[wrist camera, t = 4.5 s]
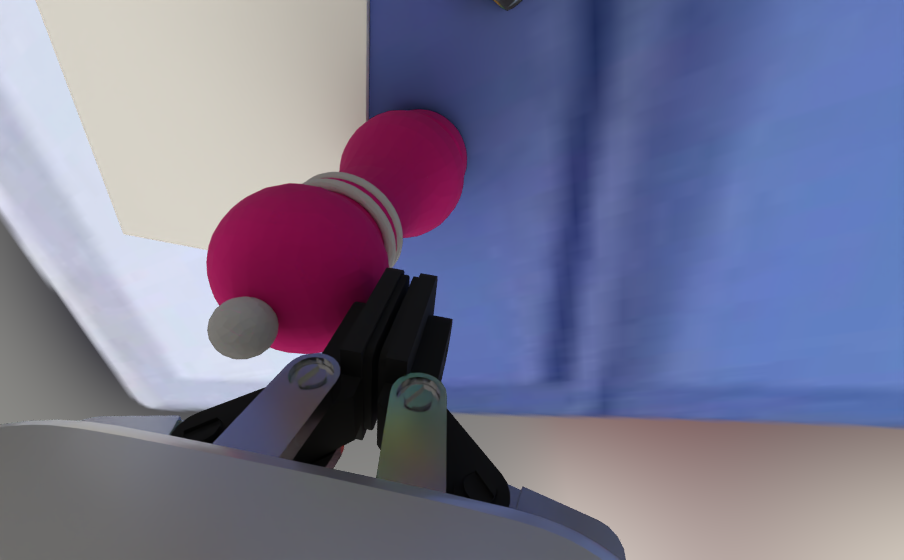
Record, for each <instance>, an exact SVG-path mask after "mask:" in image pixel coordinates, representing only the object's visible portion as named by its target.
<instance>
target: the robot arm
mask: <svg viewBox="0 0 904 560" xmlns="http://www.w3.org/2000/svg"><path fill="white" fill-rule="evenodd" d="M436 288H437V276H433V275H428V274H422V273H421V274H420V276H419V277H413V279H412V281H411V284H410V286H409V276H408V275H404V270H399V269H394V268H388V267H387V268H386V269H385V271H384V273H383V275H382V276H381V278H380V280H379V281H378V283H377V285H376V287H375V288H374V290H373V292H372V294H371V295H370V297H369V299H368V301H367V302H366V303H362V302H357V301H356V302H354V303H353V305H352V306H351V308H350V309H349V311H348V312H347V314H346V316H345V317H344V319H343V320H342V322H341V324H340V325H339V327H338V328H337V330H336V332H335V333H334V335H333V336H332V338H331V340H330V341H329V343H328V344H327V346H326V348H325V349H324V351H323V352H322V354H321V353H311V354H306V355H302V356H300V357H298V358H296V359H294V360H292V361H291V362H290V363H289V364H287V365H286V367H285V368H284V369H283V370H282V371H281V372H280V373H279V374H278V375H277V376H276V377H275V378H274V379H273V380H272V381H271V382H270V383H269V384H268V385H267V387H265V388H262V389H260V390H257V391H254V392H252V393H249V394H246V395H244V396H241V397H238V398H236V399H233V400H230V401H228V402H225V403H222V404H220V405H217V406H215V407H212V408H209V409H207V410H204V411H201V412H199V413H197V414H194V415H192V416H190V417H189V418H187V419H186V420H181V417H180V416H100V417H93V418H88V419H85V420H82V421H73V420H31V421H23V422H15V423H6V424H0V560H626V559H625V553H624V548H623V547H622V544H621V542H620V541H619V539H618V537H617V536H616V534H615V533H614V532H613V531H612V530H611V529H610V528H609V527H608V526H606V525H605V524H603V523H602V522H600V521H599V520H597V519H594V518H592V517H590V516H588V515H586V514H583V513H581V512H579V511H577V510H574V509H572V508H570V507H568V506H565V505H563V504H561V503H559V502H556V501H554V500H552V499H550V498H548V497H545V496H543V495H541V494H539V493H536V492H534V491H532V490H530V489H527V488H525V487H522V489H521V490H519V489H517V488H515V487H513V486H511V485H508V484H507V482H506V480H505V479H504V477H503V476H502V474H501V473H500V472H499V470H498V469H497V468H496V467H495V466H494V464H493V463H492V462H491V461H490V460H489V458H488V457H487V456H486V455H485V454H484V452H483V451H482V450H481V449H480V448H479V447H478V445H477V444H476V443H475V442H474V440H473V439H472V438H471V437H470V436H469V435H468V433H467V432H466V431H465V430H464V428H463V427H462V426H461V425H460V424H459V422H458V421H457V420H456V419H455V418H454V416H453V415H452V414H451V413H450V412H449V410H448V409H447V394H446V389H445V387H444V386H443V384H442V382H441V380H442V375H443V371H444V366H445V362H446V357H447V352H448V347H449V341H450V334H451V328H452V319H450V318H444V317H439V316H433V314H434V305H435V297H436ZM376 421H377V445H378V447H379V448H380V450H381V451H380V457H379V464H378V470H377V476H376V478H373V477H368V476H364V475H359V474H354V473H349V472H345V471H340V470H335V469H334V467H335V465H336V464H337V462H338V460H339V459H340V457H341V455H342V453H343V450H344V445H346V444H347V443H349V442H351V441H353V440H355V439H359V440H363V438H364V435H365V433H366V430H367V429H368V430H373V428H374V426H375V423H376Z"/></svg>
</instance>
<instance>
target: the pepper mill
mask: <svg viewBox="0 0 904 560" xmlns="http://www.w3.org/2000/svg"><path fill="white" fill-rule="evenodd" d="M466 165H467V154H466V148H465V145H464V141H463V139H462V137H461V135H460V133H459V131H458V130H457V129H456V128H455V126H454V125H453V124H452V123H451V122H450V121H449V120H447V119H446V118H445V117H444V116H442V115H440V114H438V113H436V112H433V111H430V110H423V109H415V110H409V111H406V110H395V111H387V112H384V113H381V114H378V115H376V116H375V117H373V118H371V119H369V120H368V121H367V122H365V123H364V124H363V125H362V126H360V127H359V128H358V129H357V130H356V131H355V132H354V134H353V135H352V136H351V138H350V139H349V141H348V143H347V145H346V146H345V148H344V151H343V153H342V156H341V161H340V168H339V172H327V173H322V174H318V175H316V176H313V177H312V178H310V179H308V180H307V181H306V182H304V183H302V184H298V183H287V184H282V185H277V186H272V187H266V188H264V189H262V190H260V191H257V192H255V193H253V194H251V195H249V196H247V197H246V198H244V199H243V200H241V201H240V202H239V203H237V204H236V205H235V206H234V207H232V208H231V209H230V211H229V212H228V213H227V214H226V215H225V216H224V217H223V218H222V220H221V221H220V223H219V224H218V226H217V228H216V229H215V231H214V232H213V234H212V237H211V240H210V243H209V246H208V254H207V276H208V279H209V283H210V287H211V290H212V292H213V295H214V298H215V299H216V301H217V302H218V304H219V307H217V308H216V309H215V311H214V312H213V314H212V316H211V317H210V319H209V323H208V329H207V331H208V336H209V340H210V342H211V343H212V345H213V346H214V348H215V349H216V350H217V351H218V352H220V353H221V354H222V355H224V356H227V357H230V358H232V359H249V358H252V357H255V356H258V355H260V354H262V353H263V352H264V351H266V350H267V349H268V348H269V347H271V348H273V349H276V350H280V351H284V352H288V353H301V354H311V353H320V352H323V351H324V349H325V348H326V346H327V344H328V343H329V341H330V340H331V338H332V336H333V335H334V333H335V332H336V330H337V328H338V327H339V325H340V324H341V322H342V320H343V319H344V317H345V316H346V314H347V312H348V311H349V309H350V308H351V306H352V305H353V303H354V302H356V301H357V302H362V303H366V302H367V301H368V299H369V297H370V295H371V294H372V292H373V290H374V288H375V287H376V285H377V283H378V281H379V280H380V278H381V276H382V275H383V273H384V271H385V269H386V268H387V267H388V268H392V267H393V266H394V265H395V263H396V262H397V260H398V258H399V256H400V253H401V249H402V244H403V238H408V237H414V236H419V235H422V234H424V233H426V232H429V231H431V230H432V229H434V228H436V227H437V226H439V225H440V224H441V223H442V222H443V221H444V220H445V219H446V218H447V217H448V216H449V215H450V213H451V212H452V211H453V210H454V208H455V207H456V205H457V203H458V201H459V199H460V196H461V193H462V189H463V181H464V175H465V171H466Z"/></svg>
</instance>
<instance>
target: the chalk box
mask: <svg viewBox="0 0 904 560" xmlns="http://www.w3.org/2000/svg"><path fill="white" fill-rule="evenodd" d="M494 1H495V2H496V3H497V4H498V5H499V6H500V7H501V8H503V9H505V10H507V11H508V10H510V9H512V8H514V7H515V6H516V5H518V4H519V3H520V2H521V1H522V0H494Z"/></svg>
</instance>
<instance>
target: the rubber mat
mask: <svg viewBox="0 0 904 560" xmlns="http://www.w3.org/2000/svg"><path fill="white" fill-rule="evenodd" d="M36 3H37V6H38V8H39V11H40V14H41V16H42V19H43V22H44V24H45V27H46V30H47V32H48V35H49V38H50V40H51V43H52V46H53V48H54V51H55V54H56V56H57V59H58V61H59V64H60V67H61V69H62V72H63V75H64V77H65V80H66V83H67V85H68V88H69V91H70V93H71V96H72V99H73V101H74V104H75V107H76V109H77V112H78V115H79V117H80V120H81V122H82V125H83V128H84V130H85V133H86V136H87V138H88V141H89V144H90V146H91V149H92V152H93V154H94V157H95V160H96V162H97V165H98V168H99V170H100V173H101V176H102V178H103V181H104V184H105V186H106V189H107V191H108V194H109V197H110V199H111V202H112V205H113V207H114V210H115V213H116V215H117V218H118V221H119V223H120V226H121V229H122V231H123V234H126V235H131V236H136V237H142V238H147V239H152V240H157V241H163V242H168V243H173V244H178V245H184V246H189V247H194V248H199V249H205V250H208V246H209V243H210V240H211V237H212V234H213V232H214V231H215V229H216V228H217V226H218V224H219V223H220V221H221V220H222V218H223V217H224V216H225V215H226V214H227V213H228V212H229V211H230V209H231V208H232V207H234V206H235V205H236V204H237V203H239V202H240V201H241V200H243V199H244V198H246V197H247V196H249V195H251V194H253V193H255V192H257V191H260V190H262V189H264V188H266V187H272V186H277V185H282V184H287V183H298V184H302V183H304V182H306V181H307V180H308V179H310V178H312V177H313V176H316V175H318V174H322V173H327V172H339V168H340V161H341V156H342V153H343V151H344V148H345V146H346V145H347V143H348V141H349V139H350V138H351V136H352V135H353V134H354V132H355V131H356V130H357V129H358V128H359V127H360V126H362V125H363V124H364V123H365V122H367V121H368V120H369V11H370V0H36Z"/></svg>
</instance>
